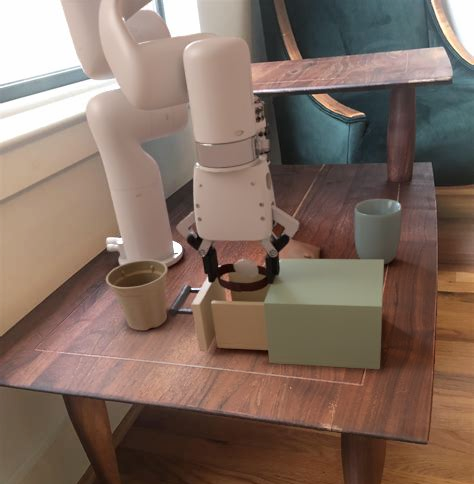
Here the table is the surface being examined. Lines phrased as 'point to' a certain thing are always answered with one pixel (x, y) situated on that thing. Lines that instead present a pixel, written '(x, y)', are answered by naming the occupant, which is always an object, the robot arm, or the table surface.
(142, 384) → the table surface
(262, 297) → the drawer
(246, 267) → the watch
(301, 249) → the sunglasses case
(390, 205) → the cup
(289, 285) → the cabinet
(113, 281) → the flower pot
